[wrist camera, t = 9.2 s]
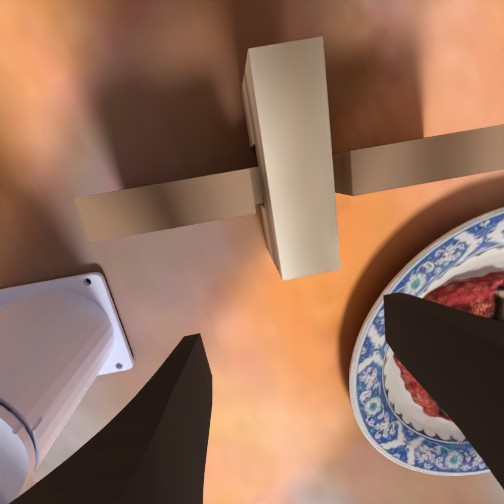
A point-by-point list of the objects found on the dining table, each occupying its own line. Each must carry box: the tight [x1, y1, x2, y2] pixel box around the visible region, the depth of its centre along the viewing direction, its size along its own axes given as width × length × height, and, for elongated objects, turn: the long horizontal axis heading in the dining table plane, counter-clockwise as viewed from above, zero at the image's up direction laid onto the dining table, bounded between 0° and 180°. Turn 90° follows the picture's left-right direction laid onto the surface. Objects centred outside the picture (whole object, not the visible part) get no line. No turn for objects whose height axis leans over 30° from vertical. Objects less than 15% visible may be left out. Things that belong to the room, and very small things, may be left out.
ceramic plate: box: [349, 207, 504, 476], centre depth 22 cm, size 26×26×3 cm
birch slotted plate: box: [241, 36, 341, 280], centre depth 15 cm, size 3×10×6 cm, turn 10°
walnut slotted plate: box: [73, 125, 504, 243], centre depth 15 cm, size 20×2×6 cm, turn 99°
